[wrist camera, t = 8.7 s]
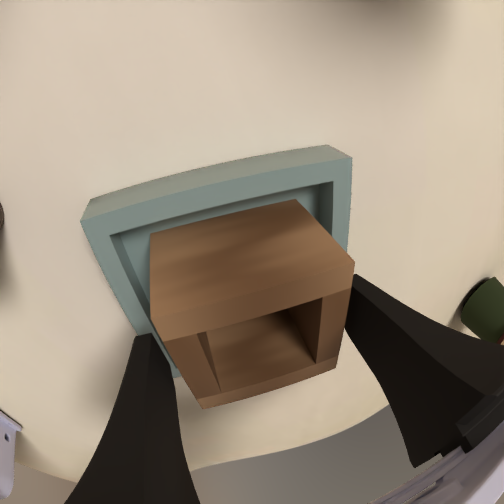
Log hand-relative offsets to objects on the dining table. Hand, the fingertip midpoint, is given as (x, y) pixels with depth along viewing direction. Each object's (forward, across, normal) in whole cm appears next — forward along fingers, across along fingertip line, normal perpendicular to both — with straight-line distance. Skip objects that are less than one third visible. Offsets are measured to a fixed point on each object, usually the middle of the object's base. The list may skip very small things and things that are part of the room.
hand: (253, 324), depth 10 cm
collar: (+3, 0, 0) cm, 3 cm away
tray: (+4, 0, 0) cm, 4 cm away
